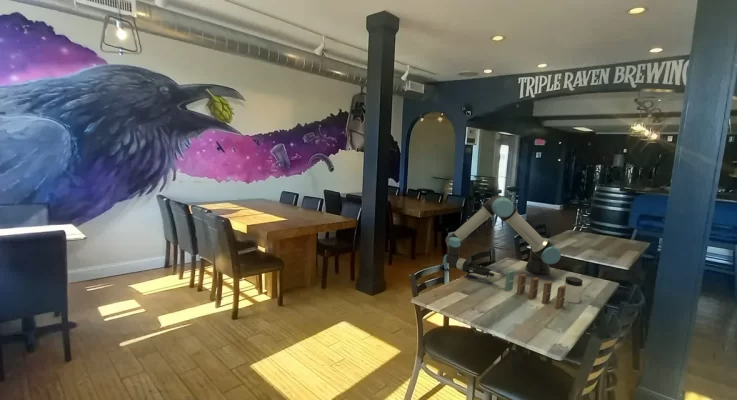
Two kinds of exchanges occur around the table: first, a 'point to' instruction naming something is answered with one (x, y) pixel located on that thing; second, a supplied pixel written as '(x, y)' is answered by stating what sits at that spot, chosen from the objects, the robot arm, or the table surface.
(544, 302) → the domino
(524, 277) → the domino
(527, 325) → the table surface
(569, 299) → the jar
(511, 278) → the domino teal
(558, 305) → the domino
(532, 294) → the domino
